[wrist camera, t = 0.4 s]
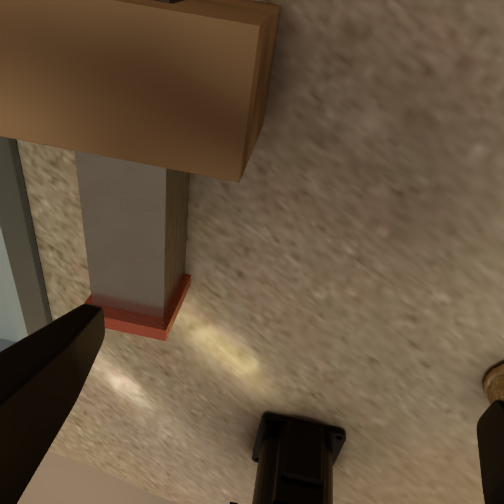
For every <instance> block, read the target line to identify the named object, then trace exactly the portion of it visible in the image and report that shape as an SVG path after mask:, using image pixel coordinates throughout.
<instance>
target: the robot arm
mask: <svg viewBox="0 0 504 504" xmlns="http://www.w3.org/2000/svg"><path fill="white" fill-rule="evenodd" d="M104 336H105V319H104V309H103V308H102V307H101V306H97V305H93V304H89V303H85V304H82V305H81V306H79V307H77V308H75V309H74V310H72V311H70V312H68V313H67V314H65V315H63V316H61V317H60V318H58V319H56V320H54V321H53V322H51V323H49V324H47V325H46V326H44V327H42V328H40V329H39V330H37V331H35V332H33V333H32V334H30V335H28V336H26V337H25V338H23V339H21V340H19V341H18V342H16V343H14V344H12V345H11V346H9V347H7V348H5V349H4V350H2V351H0V504H17V502H18V501H19V499H20V497H21V495H22V494H23V492H24V490H25V488H26V487H27V485H28V483H29V482H30V480H31V478H32V476H33V475H34V473H35V471H36V470H37V468H38V466H39V465H40V463H41V461H42V459H43V458H44V456H45V454H46V453H47V451H48V449H49V447H50V446H51V444H52V442H53V441H54V439H55V437H56V435H57V434H58V432H59V430H60V429H61V427H62V425H63V423H64V422H65V420H66V418H67V417H68V415H69V413H70V411H71V410H72V408H73V406H74V404H75V402H76V401H77V398H78V396H79V394H80V392H81V390H82V388H83V385H84V383H85V381H86V379H87V376H88V374H89V372H90V370H91V367H92V365H93V363H94V361H95V358H96V356H97V354H98V352H99V349H100V347H101V345H102V343H103V340H104ZM477 438H478V448H479V458H480V467H481V477H482V486H483V494H484V501H485V504H504V400H501V399H497V400H495V401H493V402H492V403H491V405H490V406H489V407H488V409H487V410H486V411H485V412H484V414H483V415H482V416H481V417H480V419H479V421H478V423H477ZM345 440H346V433H345V431H344V430H341V429H337V428H332V427H328V426H323V425H319V424H314V423H310V422H305V421H300V420H296V419H291V418H287V417H282V416H278V415H273V414H263V416H262V419H261V422H260V426H259V430H258V434H257V438H256V442H255V446H254V450H253V454H252V460H253V461H254V462H257V463H258V468H257V474H256V481H255V488H254V495H253V502H252V504H333V465H334V463H335V460H336V458H337V456H338V454H339V452H340V450H341V448H342V446H343V444H344V442H345ZM230 504H238V503H234V502H230Z"/></svg>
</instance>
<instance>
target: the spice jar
mask: <svg viewBox="0 0 504 504" xmlns="http://www.w3.org/2000/svg"><path fill="white" fill-rule="evenodd" d="M483 390H484V394H485V396H486V398H487V399H488V400H489V402H490V404H491V403H492V402H493V401H495V400H497V399H501V400H504V363H503V364H502V365H500V366H498V367H496V368H494V369H493V370H492V371H491V372H490V373H488V374H487V376H486V377H485V380H484V383H483Z"/></svg>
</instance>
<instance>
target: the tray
mask: <svg viewBox="0 0 504 504" xmlns="http://www.w3.org/2000/svg"><path fill="white" fill-rule="evenodd" d="M51 322H52V319H51V314H50V309H49V304H48V299H47V294H46V289H45V284H44V279H43V274H42V269H41V264H40V259H39V253H38V248H37V243H36V238H35V233H34V228H33V223H32V218H31V213H30V208H29V203H28V198H27V193H26V188H25V183H24V178H23V173H22V168H21V163H20V158H19V153H18V148H17V143H16V139H13V138H8V137H2V136H0V351H2V350H4V349H5V348H7V347H9V346H11V345H12V344H14V343H16V342H18V341H19V340H21V339H23V338H25V337H26V336H28V335H30V334H32V333H33V332H35V331H37V330H39V329H40V328H42V327H44V326H46V325H47V324H49V323H51Z"/></svg>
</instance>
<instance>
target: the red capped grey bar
mask: <svg viewBox="0 0 504 504" xmlns="http://www.w3.org/2000/svg"><path fill="white" fill-rule="evenodd" d="M153 1H159V2H165V3H171V4H174V3H178V2H181V1H185V0H153ZM75 158H76V166H77V175H78V183H79V192H80V201H81V209H82V218H83V226H84V235H85V244H86V252H87V261H88V269H89V278H90V287H91V295H90V296H89V298H88V299H87V300H86V302H85V303H89V304H93V305H97V306H101V307H102V308H103V309H104V319H105V328H108V329H112V330H117V331H122V332H126V333H131V334H136V335H140V336H145V337H150V338H154V339H159V340H163V341H166V340H167V337H168V335H169V333H170V330H171V328H172V326H173V323H174V321H175V319H176V317H177V314H178V312H179V310H180V307H181V305H182V303H183V300H184V298H185V296H186V294H187V291H188V289H189V287H190V280H191V275H187V274H185V255H186V236H187V217H188V198H189V179H190V173H188V172H183V171H178V170H173V169H168V168H163V167H157V166H152V165H147V164H142V163H137V162H132V161H126V160H121V159H116V158H111V157H106V156H101V155H95V154H90V153H85V152H80V151H75ZM85 303H84V304H85Z"/></svg>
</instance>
